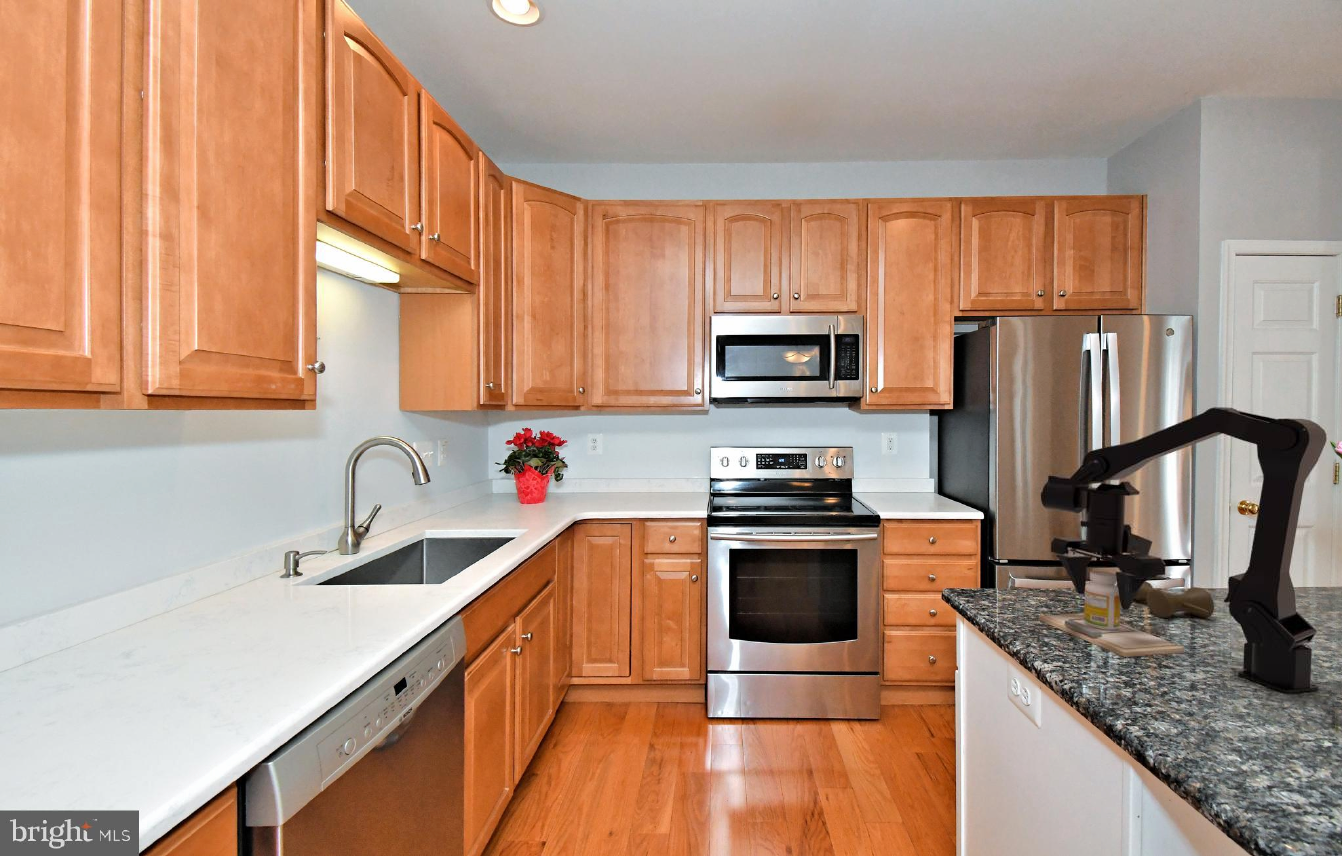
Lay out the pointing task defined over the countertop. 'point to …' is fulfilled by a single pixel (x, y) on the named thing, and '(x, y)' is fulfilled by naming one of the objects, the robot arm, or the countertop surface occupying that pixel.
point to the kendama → (1176, 601)
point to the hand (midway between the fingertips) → (1102, 601)
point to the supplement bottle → (1102, 601)
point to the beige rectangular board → (1113, 636)
